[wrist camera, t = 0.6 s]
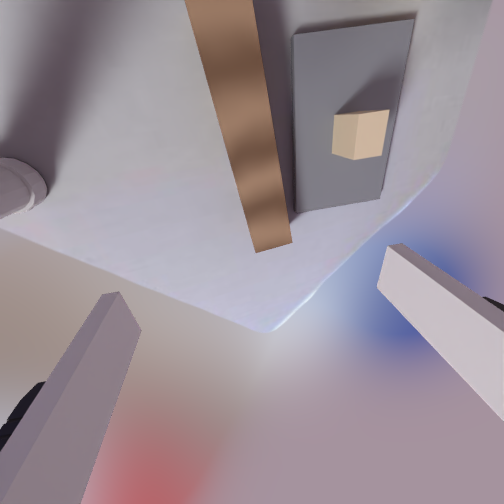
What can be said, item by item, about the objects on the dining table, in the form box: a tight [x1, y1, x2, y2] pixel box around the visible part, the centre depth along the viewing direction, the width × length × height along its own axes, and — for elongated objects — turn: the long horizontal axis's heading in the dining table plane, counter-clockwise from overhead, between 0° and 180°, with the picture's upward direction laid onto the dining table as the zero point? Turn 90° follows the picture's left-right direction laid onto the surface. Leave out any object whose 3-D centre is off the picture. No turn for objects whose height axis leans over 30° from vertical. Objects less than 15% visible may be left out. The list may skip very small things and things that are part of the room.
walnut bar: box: [185, 0, 292, 253], centre depth 24 cm, size 24×5×4 cm, turn 14°
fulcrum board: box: [291, 19, 414, 213], centre depth 24 cm, size 18×12×6 cm, turn 7°
